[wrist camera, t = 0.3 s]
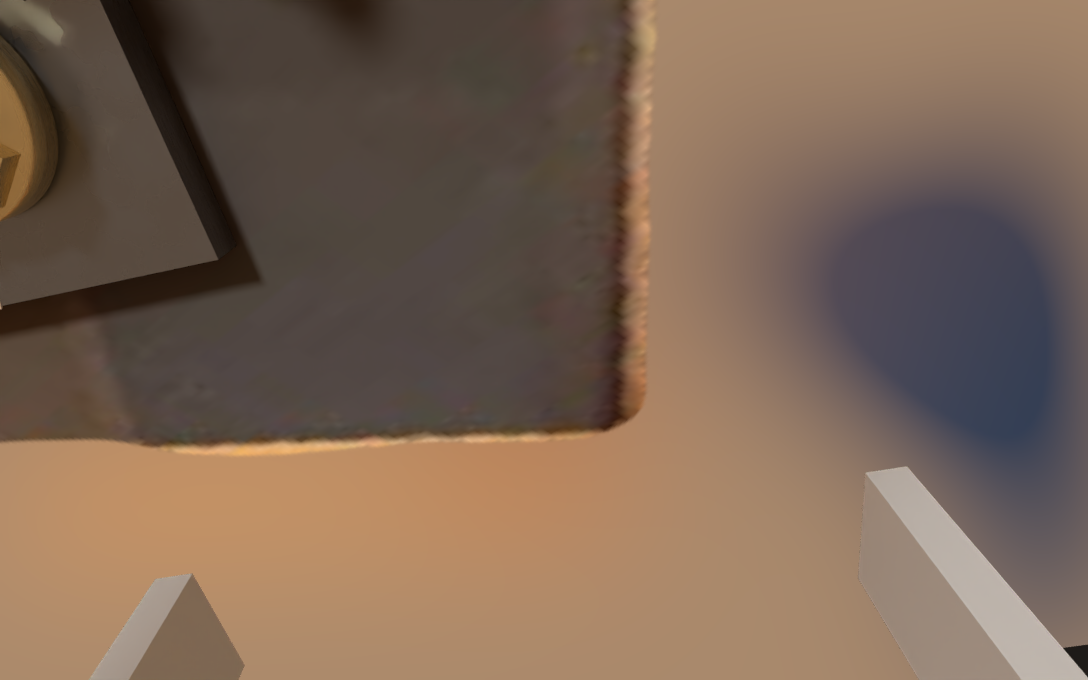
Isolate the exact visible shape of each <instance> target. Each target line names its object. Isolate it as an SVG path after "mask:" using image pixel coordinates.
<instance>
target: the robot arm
mask: <svg viewBox="0 0 1088 680" xmlns="http://www.w3.org/2000/svg"><path fill="white" fill-rule="evenodd" d="M858 579H859V580H860V582H861V584H862V586H863V587H864V589H865V591H866V592H867V594H868V596H869V597H870V599H871V601H872V602H873V604H874V606H875V608H876V609H877V611H878V612H879V614H880V616H881V618H882V619H883V621H884V623H885V624H886V626H887V627H888V629H889V631H890V632H891V634H892V636H893V638H894V639H895V641H896V643H897V644H898V646H899V648H900V649H901V651H902V652H903V654H904V656H905V657H906V659H907V661H908V662H909V664H910V666H911V667H912V669H913V671H914V673H915V674H916V676H917V678H918V679H919V680H1088V645H1082V646H1074V647H1068V648H1062V647H1061V646H1060V644H1059V643H1058V642H1057V641H1056V640H1055V639H1054V637H1053V636H1052V635H1051V634H1050V633H1049V632H1048V630H1047V629H1046V628H1045V627H1044V626H1043V625H1042V624H1041V622H1040V621H1039V620H1038V619H1037V618H1036V616H1035V615H1034V614H1033V613H1032V612H1031V611H1030V610H1029V608H1028V607H1027V606H1026V605H1025V604H1024V602H1023V601H1022V600H1021V599H1020V598H1019V597H1018V596H1017V594H1016V593H1015V592H1014V591H1013V590H1012V588H1010V586H1009V585H1008V584H1007V583H1006V581H1005V580H1004V579H1003V578H1002V577H1001V576H1000V574H999V573H998V572H997V571H996V570H995V569H994V567H993V566H992V565H991V564H990V563H989V562H988V560H987V559H986V558H985V557H984V556H983V555H982V553H981V552H980V551H979V550H978V549H977V548H976V546H975V545H974V544H973V543H972V542H971V541H970V540H969V538H968V537H967V536H966V535H965V534H964V532H963V531H962V530H961V529H960V528H959V527H958V526H957V524H956V523H955V522H954V521H953V520H952V518H951V517H950V516H949V515H948V514H947V513H946V511H945V510H944V509H943V508H942V507H941V506H940V505H939V503H938V502H937V501H936V500H935V499H934V497H933V496H932V495H931V494H930V493H929V492H928V490H927V489H926V488H925V487H924V486H923V485H922V483H921V482H920V481H919V480H918V479H917V478H916V476H915V475H914V474H913V473H912V472H911V471H910V470H909V468H908V467H907V466H906V467H900V468H893V469H887V470H880V471H873V472H866V473H865V486H864V500H863V514H862V529H861V544H860V557H859V571H858ZM243 668H244V663H243V661H242V660H241V658H240V656H239V654H238V653H237V651H236V649H235V647H234V646H233V644H232V642H231V641H230V639H229V637H228V635H227V633H226V632H225V630H224V628H223V626H222V625H221V623H220V621H219V619H218V618H217V616H216V614H215V612H214V611H213V609H212V607H211V605H210V604H209V602H208V600H207V598H206V596H205V595H204V593H203V591H202V589H201V588H200V586H199V584H198V582H197V581H196V579H195V577H194V575H193V574H186V575H179V576H172V577H166V578H159V579H155V580H154V582H153V583H152V585H151V586H150V588H149V589H148V591H147V592H146V594H145V595H144V597H143V598H142V600H141V602H140V603H139V605H138V606H137V608H136V609H135V611H134V612H133V614H132V615H131V617H130V618H129V620H128V621H127V623H126V624H125V626H124V627H123V629H122V630H121V632H120V633H119V635H118V637H117V638H116V639H115V641H114V642H113V644H112V646H111V647H110V648H109V650H108V652H107V653H106V655H105V656H104V658H103V659H102V661H101V662H100V664H99V665H98V667H97V668H96V670H95V671H94V673H93V674H92V676H91V677H90V679H89V680H238V679H239V677H240V675H241V672H242V670H243Z"/></svg>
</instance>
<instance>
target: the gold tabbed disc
mask: <svg viewBox="0 0 1088 680" xmlns="http://www.w3.org/2000/svg"><path fill="white" fill-rule="evenodd" d="M57 159H58V138H57V131H56V126H55V121H54V117H53V114H52V111H51V108H50V105H49V103H48V101H47V98H46V96H45V94H44V92H43V90H42V88H41V86H40V84H39V83H38V81H37V79H36V78H35V76H34V74H33V73H32V71H31V70H30V69H29V67H28V66H27V64H26V63H25V62H24V60H23V59H22V58H21V57H20V55H19V54H18V53H17V52H16V51H15V50H14V49H13V47H12V46H11V45H10V44H9V43H8V42H7V41H6V40H5V39H4V38H3V37H1V36H0V222H1V221H4V220H7V219H9V218H12V217H15V216H17V215H19V214H21V213H23V212H25V211H26V210H28V209H29V208H31V207H32V206H33V205H35V204H36V203H37V202H38V201H39V200H40V198H41V197H42V196H43V195H44V194H45V192H46V191H47V189H48V188H49V186H50V184H51V181H52V179H53V177H54V174H55V170H56V165H57Z"/></svg>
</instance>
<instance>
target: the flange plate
mask: <svg viewBox="0 0 1088 680" xmlns="http://www.w3.org/2000/svg"><path fill="white" fill-rule="evenodd" d="M0 36H1V37H3V38H4V39H5V40H6V41H7V42H8V43H9V44H10V45H11V46H12V47H13V49H14V50H15V51H16V52H17V53H18V54H19V55H20V57H21V58H22V59H23V60H24V62H25V63H26V64H27V66H28V67H29V69H30V70H31V71H32V73H33V74H34V76H35V78H36V79H37V81H38V83H39V84H40V86H41V88H42V90H43V92H44V94H45V96H46V98H47V101H48V103H49V105H50V108H51V111H52V114H53V117H54V121H55V126H56V131H57V138H58V159H57V165H56V170H55V174H54V177H53V179H52V181H51V184H50V186H49V188H48V189H47V191H46V192H45V194H44V195H43V196H42V197H41V198H40V200H39V201H38V202H37V203H36V204H35V205H33V206H32V207H31V208H29V209H28V210H26V211H25V212H23V213H21V214H19V215H17V216H15V217H12V218H9V219H7V220H4V221H1V222H0V309H3V306H4V305H9V304H13V303H18V302H23V301H27V300H32V299H37V298H42V297H46V296H51V295H56V294H60V293H65V292H70V291H74V290H79V289H84V288H88V287H93V286H98V285H102V284H107V283H112V282H116V281H121V280H126V279H130V278H135V277H140V276H144V275H149V274H154V273H159V272H163V271H168V270H173V269H177V268H182V267H187V266H191V265H196V264H201V263H205V262H210V261H215V260H219V259H220V258H221V257H223V256H224V255H225V254H226V253H228V252H229V251H230V250H232V249H233V248H234V247H235V246H236V243H235V241H234V239H233V236H232V234H231V232H230V230H229V227H228V225H227V223H226V221H225V218H224V216H223V214H222V211H221V209H220V207H219V205H218V202H217V200H216V198H215V196H214V193H213V191H212V189H211V186H210V184H209V182H208V180H207V177H206V175H205V173H204V170H203V168H202V166H201V164H200V161H199V159H198V157H197V155H196V152H195V150H194V148H193V145H192V143H191V141H190V139H189V136H188V134H187V132H186V129H185V127H184V125H183V123H182V120H181V118H180V116H179V114H178V111H177V109H176V107H175V104H174V102H173V100H172V98H171V95H170V93H169V91H168V89H167V86H166V84H165V82H164V79H163V77H162V75H161V73H160V70H159V68H158V66H157V63H156V61H155V59H154V57H153V54H152V52H151V50H150V48H149V45H148V43H147V41H146V38H145V36H144V34H143V32H142V29H141V27H140V25H139V22H138V20H137V18H136V16H135V13H134V11H133V9H132V7H131V4H130V2H129V0H0Z"/></svg>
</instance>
